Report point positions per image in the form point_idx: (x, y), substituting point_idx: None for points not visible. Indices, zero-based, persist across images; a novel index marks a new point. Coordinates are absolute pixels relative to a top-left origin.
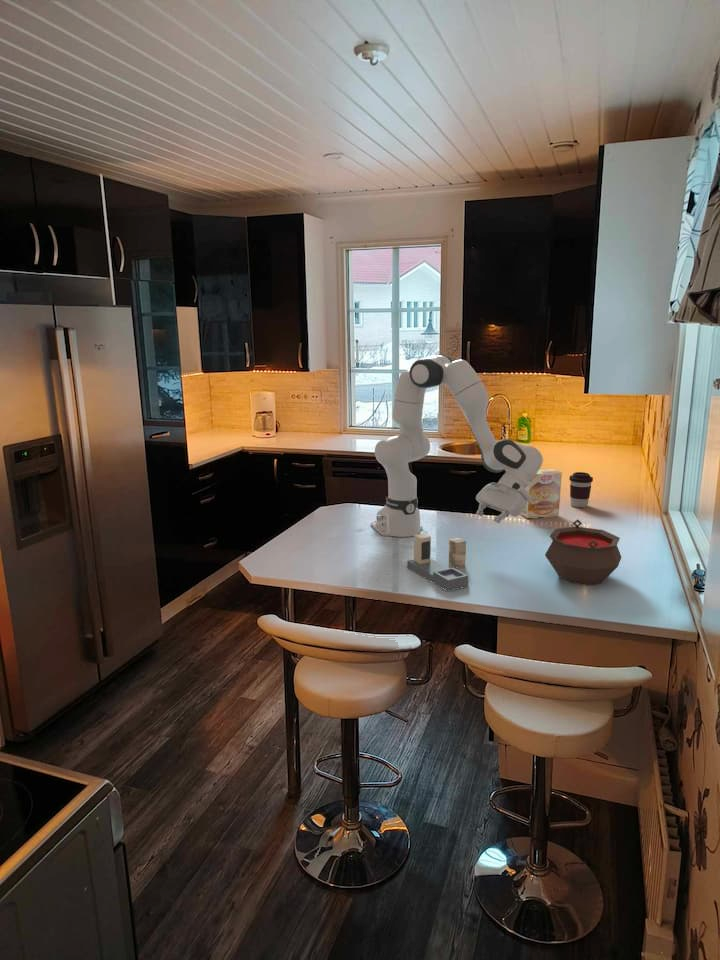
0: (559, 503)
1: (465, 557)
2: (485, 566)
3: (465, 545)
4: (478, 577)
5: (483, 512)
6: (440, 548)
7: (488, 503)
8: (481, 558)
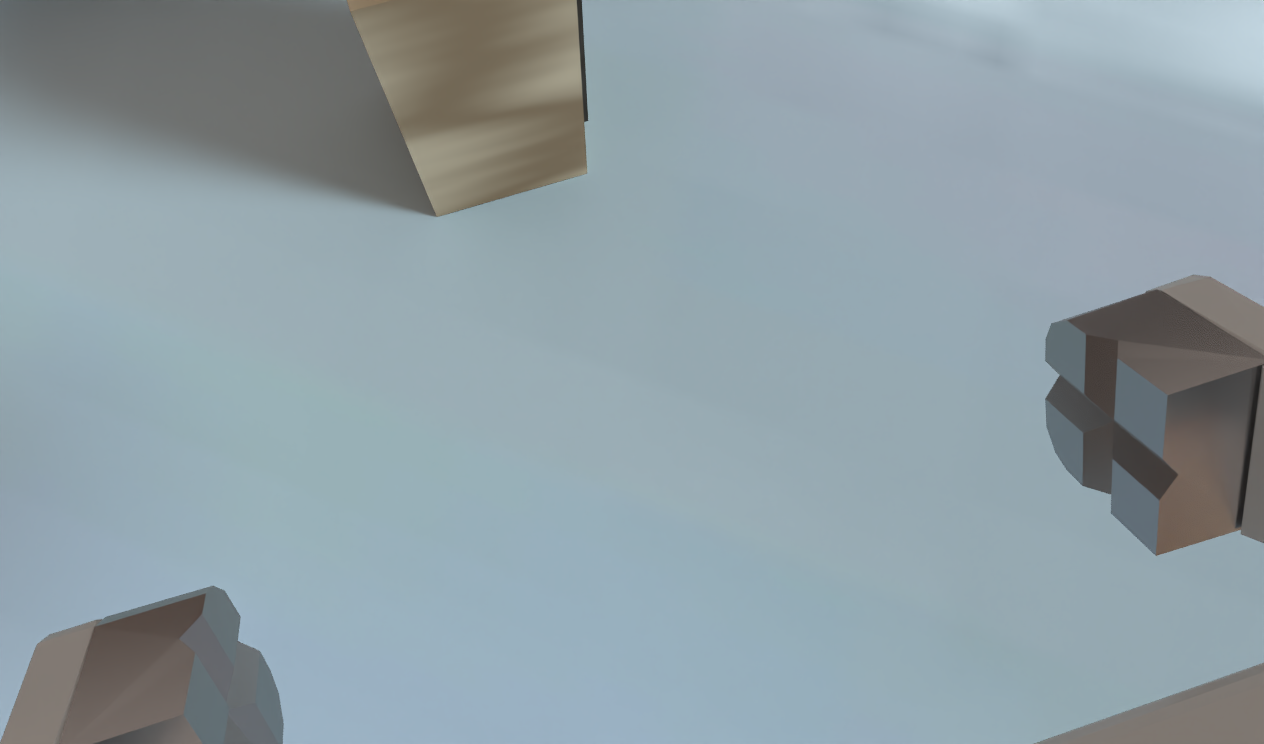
0: None
1: (415, 162)
2: (353, 474)
3: (370, 52)
4: (19, 243)
5: (1155, 532)
6: (1150, 118)
7: (1241, 677)
8: (668, 536)
